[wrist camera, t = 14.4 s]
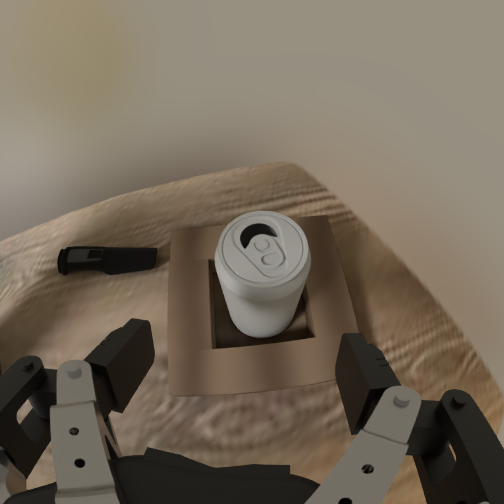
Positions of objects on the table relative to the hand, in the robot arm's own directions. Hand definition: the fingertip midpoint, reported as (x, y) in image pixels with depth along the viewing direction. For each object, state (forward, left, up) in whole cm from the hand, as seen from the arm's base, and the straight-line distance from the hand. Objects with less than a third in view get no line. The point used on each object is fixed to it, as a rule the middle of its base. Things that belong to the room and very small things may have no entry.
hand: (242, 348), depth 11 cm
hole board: (+1, +7, -15) cm, 17 cm away
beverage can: (+2, +7, -15) cm, 17 cm away
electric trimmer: (-17, +14, -16) cm, 27 cm away
